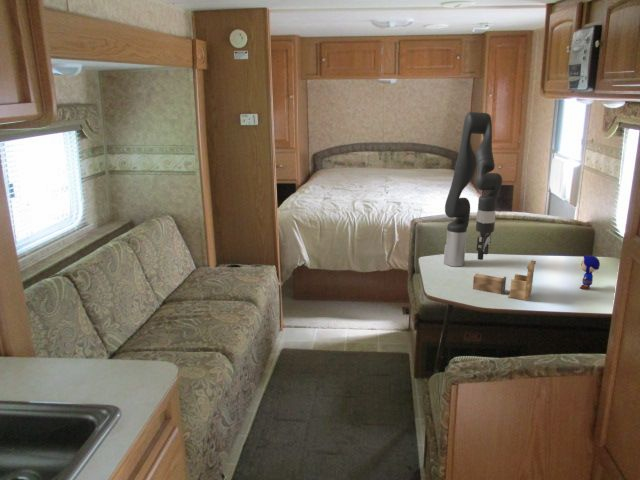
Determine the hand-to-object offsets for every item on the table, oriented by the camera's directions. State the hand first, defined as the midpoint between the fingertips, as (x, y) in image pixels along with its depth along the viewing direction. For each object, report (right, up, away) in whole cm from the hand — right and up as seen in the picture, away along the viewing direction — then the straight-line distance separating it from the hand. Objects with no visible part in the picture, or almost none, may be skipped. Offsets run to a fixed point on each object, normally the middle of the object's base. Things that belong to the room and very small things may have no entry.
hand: (482, 256), depth 235 cm
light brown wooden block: (+3, -15, +3) cm, 15 cm away
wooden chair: (+14, -16, -4) cm, 22 cm away
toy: (+47, -14, +4) cm, 49 cm away
